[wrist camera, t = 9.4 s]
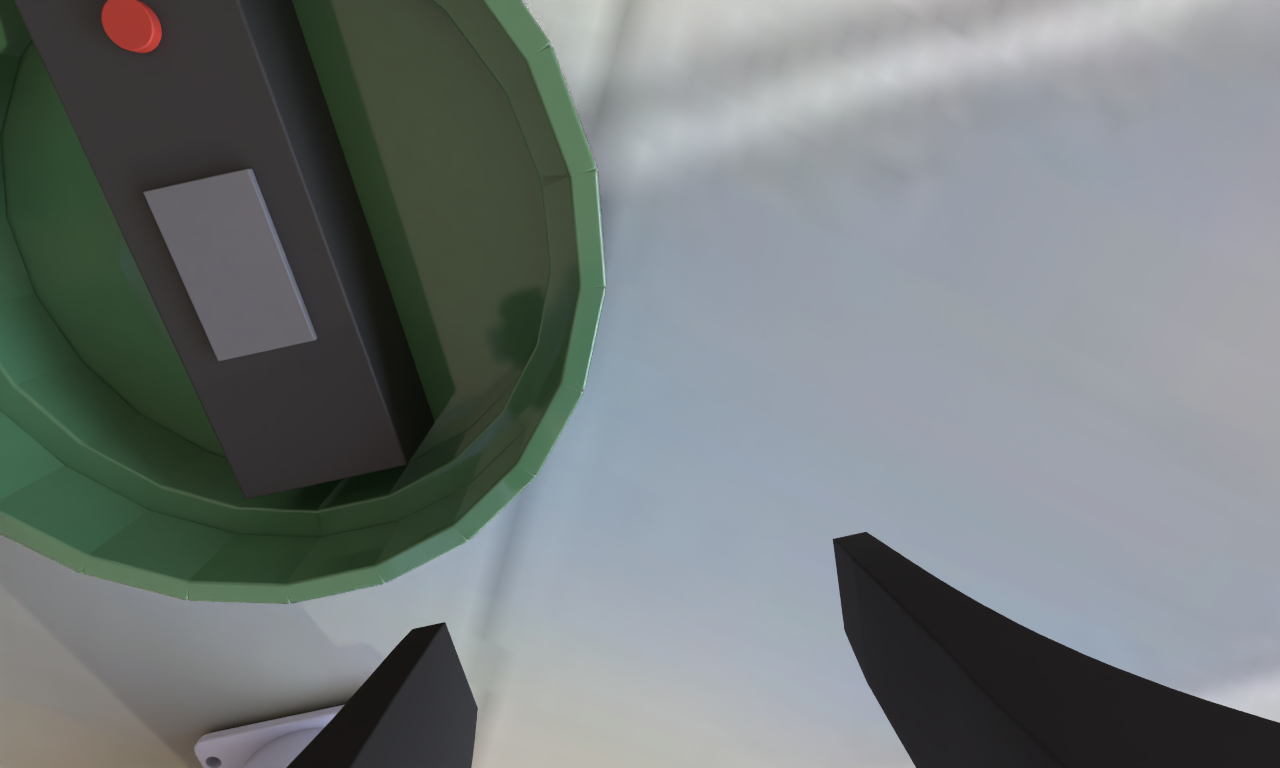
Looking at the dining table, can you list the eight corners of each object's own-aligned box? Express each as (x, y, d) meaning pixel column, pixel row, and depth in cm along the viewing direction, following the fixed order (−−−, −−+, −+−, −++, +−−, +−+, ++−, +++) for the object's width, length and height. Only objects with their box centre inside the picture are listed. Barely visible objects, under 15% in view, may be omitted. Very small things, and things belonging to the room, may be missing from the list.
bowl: (657, 443, 21) (673, 523, 16) (141, 553, 21) (5, 665, 16) (517, -203, 15) (478, -373, 10) (-183, -44, 15) (-534, -141, 11)
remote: (435, 423, 19) (404, 471, 16) (296, 453, 20) (238, 506, 16) (278, -42, 15) (196, -96, 12) (104, -2, 16) (-21, -46, 12)
